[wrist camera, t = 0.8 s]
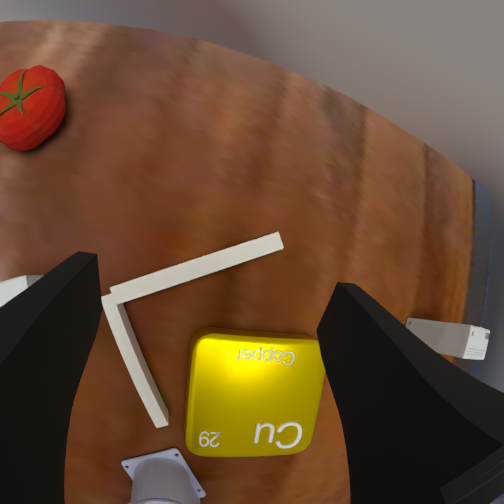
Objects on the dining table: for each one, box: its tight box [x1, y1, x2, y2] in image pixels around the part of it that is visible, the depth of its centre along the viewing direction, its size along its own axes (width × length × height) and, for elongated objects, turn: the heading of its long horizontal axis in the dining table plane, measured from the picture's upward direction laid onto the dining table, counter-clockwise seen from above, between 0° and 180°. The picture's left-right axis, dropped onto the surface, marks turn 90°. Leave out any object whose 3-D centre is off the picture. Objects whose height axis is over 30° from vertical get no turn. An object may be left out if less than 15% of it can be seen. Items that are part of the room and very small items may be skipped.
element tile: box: [184, 327, 326, 457], centre depth 32 cm, size 15×15×5 cm
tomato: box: [0, 65, 66, 151], centre depth 25 cm, size 11×11×8 cm
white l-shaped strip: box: [101, 232, 284, 428], centre depth 31 cm, size 16×19×4 cm
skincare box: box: [405, 318, 490, 360], centre depth 34 cm, size 6×4×12 cm
